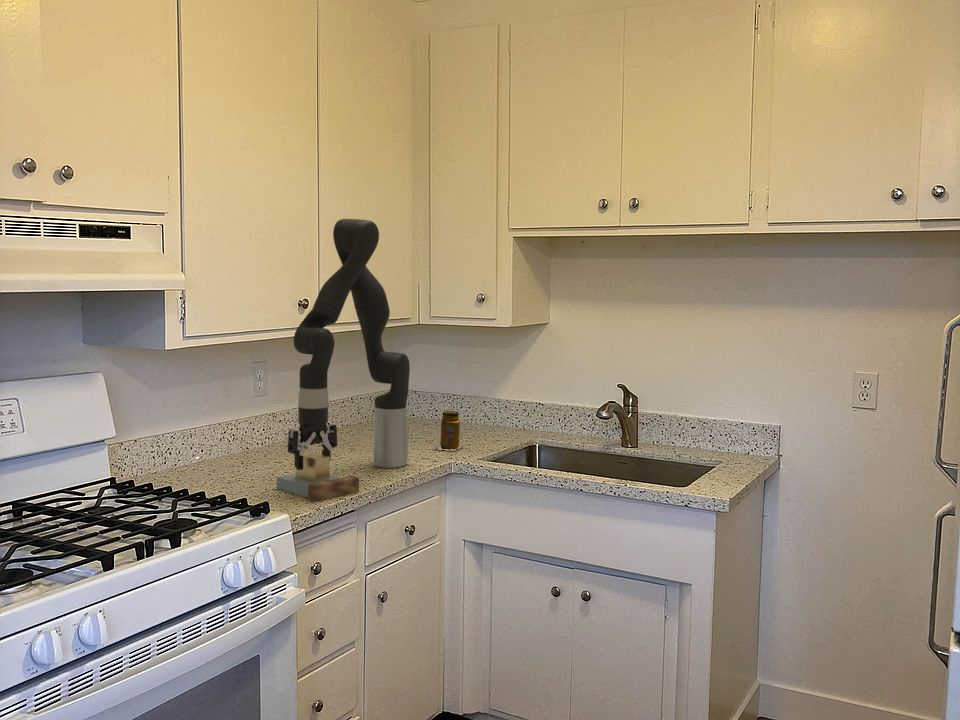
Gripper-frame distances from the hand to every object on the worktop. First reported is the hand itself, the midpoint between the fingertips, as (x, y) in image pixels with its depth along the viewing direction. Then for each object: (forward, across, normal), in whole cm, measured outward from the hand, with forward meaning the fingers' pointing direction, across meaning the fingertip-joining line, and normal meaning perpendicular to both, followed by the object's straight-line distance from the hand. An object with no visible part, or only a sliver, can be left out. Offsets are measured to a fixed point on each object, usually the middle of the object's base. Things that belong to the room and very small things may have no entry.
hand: (312, 466), depth 232 cm
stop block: (+6, 0, -9) cm, 11 cm away
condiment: (+7, +65, +12) cm, 66 cm away
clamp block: (+3, 0, 0) cm, 3 cm away
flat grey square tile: (+6, 0, 0) cm, 6 cm away
